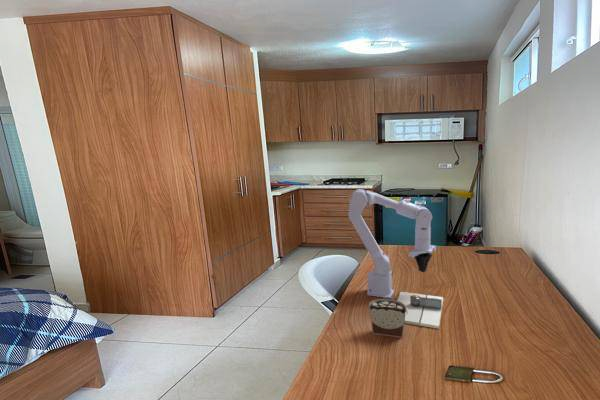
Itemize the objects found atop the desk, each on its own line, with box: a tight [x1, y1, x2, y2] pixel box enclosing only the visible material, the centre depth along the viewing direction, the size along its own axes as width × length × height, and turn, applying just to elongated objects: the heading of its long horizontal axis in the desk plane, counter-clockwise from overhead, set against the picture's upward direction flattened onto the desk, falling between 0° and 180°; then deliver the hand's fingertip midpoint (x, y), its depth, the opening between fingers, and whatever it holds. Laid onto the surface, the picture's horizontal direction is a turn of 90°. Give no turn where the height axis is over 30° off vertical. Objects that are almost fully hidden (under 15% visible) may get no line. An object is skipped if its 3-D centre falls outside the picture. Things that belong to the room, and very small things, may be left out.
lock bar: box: [410, 295, 443, 310], centre depth 132 cm, size 11×4×3 cm, turn 69°
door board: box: [396, 291, 444, 330], centre depth 132 cm, size 16×24×3 cm, turn 156°
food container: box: [367, 298, 408, 339], centre depth 117 cm, size 12×6×10 cm, turn 71°
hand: (422, 271), depth 143 cm, fingers closed
